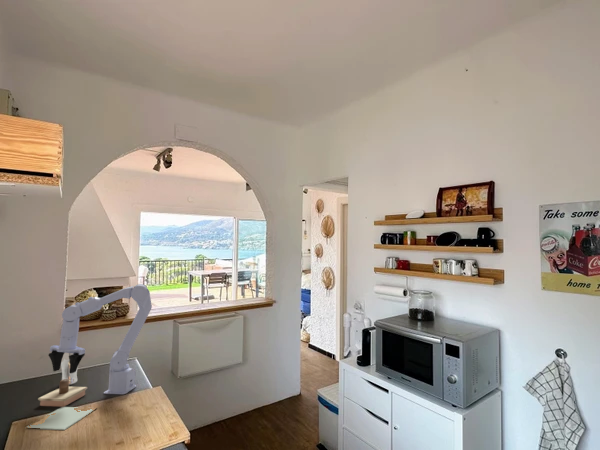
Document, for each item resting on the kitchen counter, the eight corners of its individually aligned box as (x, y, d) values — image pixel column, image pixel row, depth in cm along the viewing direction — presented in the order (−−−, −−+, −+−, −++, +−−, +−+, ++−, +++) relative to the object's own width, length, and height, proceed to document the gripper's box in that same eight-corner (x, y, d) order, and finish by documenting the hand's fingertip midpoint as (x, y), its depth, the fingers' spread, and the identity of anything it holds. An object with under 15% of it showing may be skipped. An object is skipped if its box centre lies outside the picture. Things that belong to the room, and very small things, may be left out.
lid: (87, 388, 129) (87, 375, 130) (64, 401, 118) (65, 386, 119) (62, 388, 130) (63, 374, 131) (38, 400, 119) (38, 385, 120)
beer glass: (71, 386, 138) (72, 350, 139) (55, 386, 138) (57, 350, 139) (82, 379, 145) (83, 346, 146) (67, 379, 145) (69, 346, 146)
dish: (85, 394, 129) (85, 389, 129) (64, 406, 119) (64, 400, 119) (62, 394, 130) (62, 388, 130) (40, 405, 120) (40, 399, 120)
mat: (96, 409, 116) (96, 408, 116) (64, 430, 102) (64, 428, 102) (61, 407, 118) (62, 406, 118) (25, 428, 104) (25, 427, 104)
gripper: (44, 336, 125) (39, 372, 123) (76, 340, 122) (71, 376, 120) (60, 333, 131) (56, 367, 130) (91, 336, 129) (86, 370, 127)
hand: (64, 371), depth 125 cm, fingers open, 7 cm apart
